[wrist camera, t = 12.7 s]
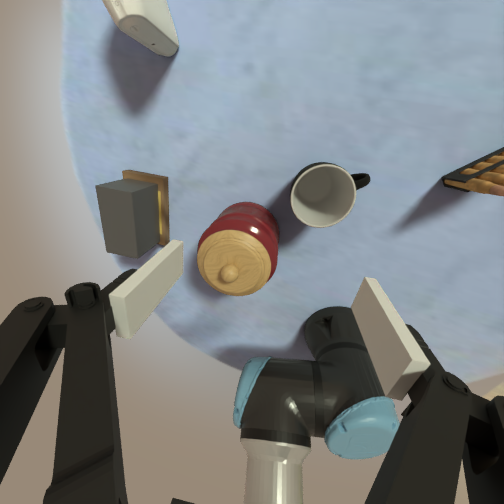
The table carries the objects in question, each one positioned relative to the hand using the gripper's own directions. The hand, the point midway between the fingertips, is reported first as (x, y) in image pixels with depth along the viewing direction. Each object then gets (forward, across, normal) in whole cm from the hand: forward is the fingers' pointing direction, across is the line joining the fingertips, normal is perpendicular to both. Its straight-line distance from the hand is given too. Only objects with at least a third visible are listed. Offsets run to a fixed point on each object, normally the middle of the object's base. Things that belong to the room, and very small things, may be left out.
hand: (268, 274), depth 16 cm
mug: (+29, -7, -3) cm, 30 cm away
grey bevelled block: (+26, +26, +8) cm, 38 cm away
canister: (+29, +5, +9) cm, 31 cm away
